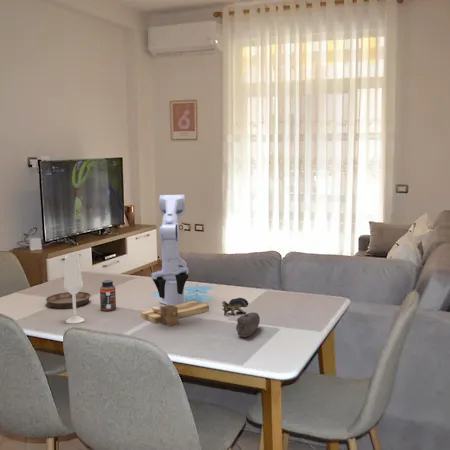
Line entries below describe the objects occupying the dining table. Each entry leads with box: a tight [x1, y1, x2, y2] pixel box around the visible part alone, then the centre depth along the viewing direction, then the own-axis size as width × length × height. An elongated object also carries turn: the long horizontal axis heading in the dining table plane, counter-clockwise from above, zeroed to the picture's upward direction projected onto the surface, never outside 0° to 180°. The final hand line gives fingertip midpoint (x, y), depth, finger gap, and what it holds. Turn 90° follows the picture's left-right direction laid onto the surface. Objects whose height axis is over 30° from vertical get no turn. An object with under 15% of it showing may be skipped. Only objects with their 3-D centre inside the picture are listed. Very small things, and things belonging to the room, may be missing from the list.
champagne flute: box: [63, 254, 85, 324], centre depth 203 cm, size 7×7×24 cm
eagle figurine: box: [221, 297, 250, 317], centre depth 209 cm, size 8×7×9 cm
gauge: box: [151, 304, 179, 327], centre depth 202 cm, size 14×4×6 cm, turn 39°
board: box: [140, 300, 210, 325], centre depth 211 cm, size 10×24×2 cm, turn 129°
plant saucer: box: [45, 291, 92, 309], centre depth 228 cm, size 18×18×3 cm
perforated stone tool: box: [235, 312, 261, 338], centre depth 187 cm, size 15×5×7 cm, turn 152°
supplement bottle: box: [99, 279, 117, 312], centre depth 218 cm, size 6×6×11 cm
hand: (171, 295), depth 199 cm, fingers open, 7 cm apart
